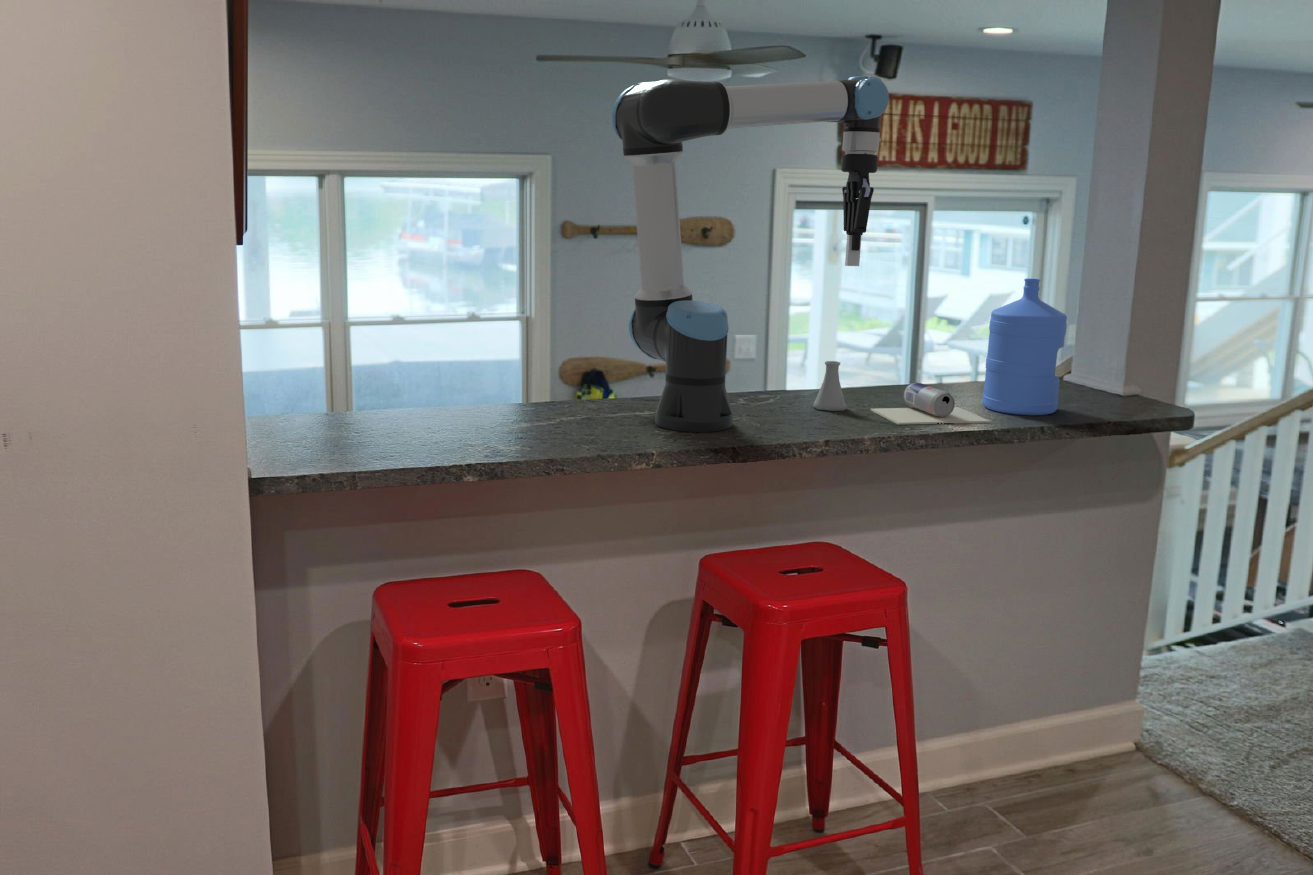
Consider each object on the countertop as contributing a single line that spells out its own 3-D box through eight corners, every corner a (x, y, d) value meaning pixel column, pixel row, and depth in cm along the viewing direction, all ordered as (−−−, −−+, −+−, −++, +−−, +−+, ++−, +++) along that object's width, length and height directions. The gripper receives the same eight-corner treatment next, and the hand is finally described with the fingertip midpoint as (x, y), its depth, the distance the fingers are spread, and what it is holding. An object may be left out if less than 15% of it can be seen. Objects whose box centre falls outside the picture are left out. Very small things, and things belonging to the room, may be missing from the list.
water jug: (1013, 418, 230) (1027, 283, 224) (966, 403, 244) (978, 276, 238) (1073, 414, 236) (1088, 282, 229) (1024, 400, 250) (1037, 275, 244)
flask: (845, 406, 238) (848, 360, 236) (848, 412, 231) (851, 365, 229) (812, 404, 239) (814, 358, 237) (813, 411, 232) (816, 364, 230)
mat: (898, 424, 221) (898, 422, 220) (870, 410, 234) (870, 408, 234) (989, 422, 225) (989, 420, 225) (957, 408, 238) (957, 407, 238)
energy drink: (928, 388, 237) (960, 399, 226) (917, 410, 238) (947, 422, 227) (910, 377, 236) (940, 388, 224) (898, 400, 236) (928, 411, 225)
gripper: (888, 153, 228) (879, 268, 234) (866, 154, 241) (858, 263, 246) (853, 151, 227) (845, 267, 232) (833, 153, 240) (825, 263, 245)
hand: (852, 265), depth 239 cm, fingers closed
